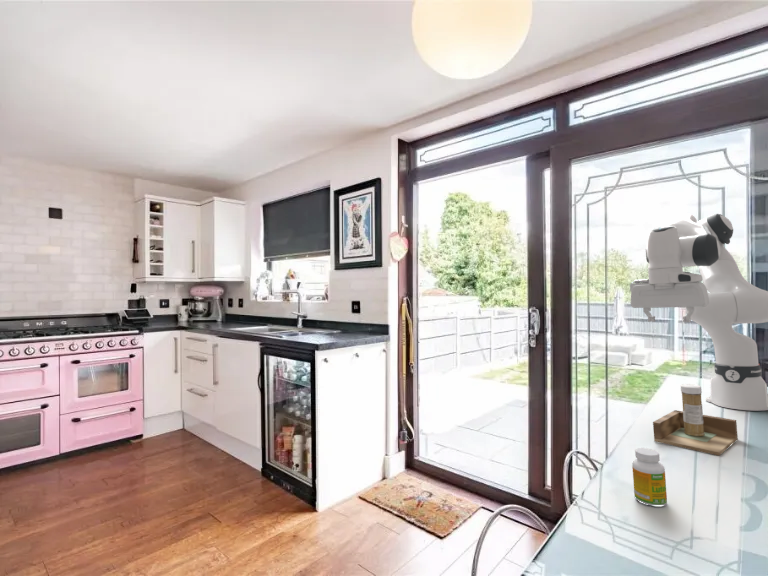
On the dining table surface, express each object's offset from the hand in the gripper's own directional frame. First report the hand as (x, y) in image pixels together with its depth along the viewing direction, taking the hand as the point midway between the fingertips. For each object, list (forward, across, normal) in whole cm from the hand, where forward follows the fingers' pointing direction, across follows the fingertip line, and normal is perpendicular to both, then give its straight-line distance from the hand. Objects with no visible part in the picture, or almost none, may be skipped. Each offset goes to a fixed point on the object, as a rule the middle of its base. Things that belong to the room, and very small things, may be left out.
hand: (668, 322), depth 124 cm
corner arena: (+31, +9, -14) cm, 35 cm away
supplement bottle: (+31, +14, -57) cm, 66 cm away
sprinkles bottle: (+30, +8, -12) cm, 33 cm away
